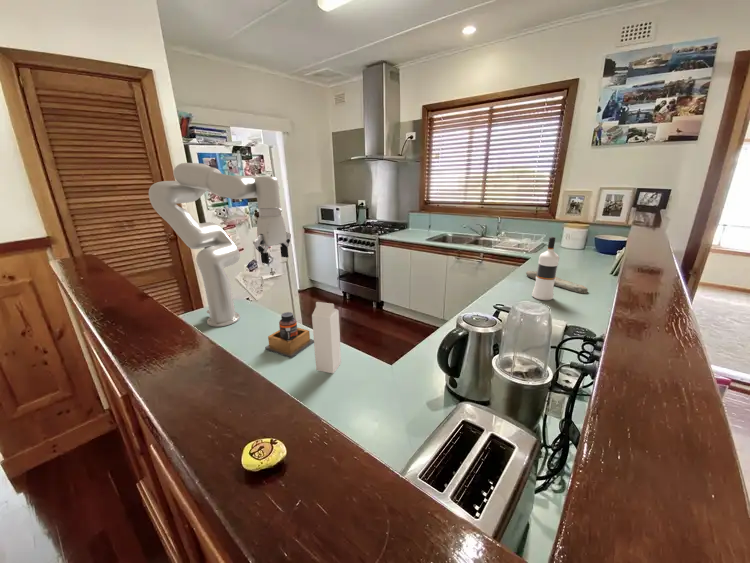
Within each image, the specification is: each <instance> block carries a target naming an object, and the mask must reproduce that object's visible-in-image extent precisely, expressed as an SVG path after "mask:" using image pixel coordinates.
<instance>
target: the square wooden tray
mask: <svg viewBox="0 0 750 563" xmlns="http://www.w3.org/2000/svg"><path fill="white" fill-rule="evenodd" d="M297 332H298V336H297V337H295V338H294V339H292V340H291V341H287V340H284V339H281V336H280V329H279V330H277V331H276V332H273V333H272V334H270V335H268V336H267V339H268V345H266V346H265V351H269V352H270V353H274V354H277V355H279V356H283V357H284V358H288V359H293V358H294V357H296V356H297V355H299V354H300V353H301V352H303V351H304V350H306V349H307V348H308V347H310V346H311V345H314V339H312V338H311V337H310V336H311V335H310V330H309V329H305V328H300V327H297Z"/></svg>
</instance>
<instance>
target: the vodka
mask: <svg viewBox="0 0 750 563" xmlns="http://www.w3.org/2000/svg"><path fill="white" fill-rule="evenodd" d="M548 238H549V239H548V245H547V250H545V251H543V252H542V253H540V255H539V257H538V262H537V263H538V264H537V265H538V266H537V270H536V271H537V277H536V280H535V283H534V287H533V290H532V293H531V295H532V297H533V298H534V299H536V300H539V301H551V300H552V299H553V298H554V289H555V288H554V287H555V285H554V282H555V277H557V272H558V271H557V270H558V265H559V261H560V256H559V255H558V253H556V252H555V251H554V249H555V243H556V237H555V236H554V237H553V236H550V237H548Z"/></svg>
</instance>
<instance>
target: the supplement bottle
mask: <svg viewBox="0 0 750 563" xmlns="http://www.w3.org/2000/svg"><path fill="white" fill-rule="evenodd" d="M280 316H281V319H280V320H279V322H278V323H279V324H278V325H279V326H278V327H279V330H280V336H281V339H284V340H287V341H291V340H292V339H294V338H295V337H297V336H298V332H297V328H298V325H297V324H298V323H297V319H296V318H295V317H294V314H293V312H291V311H287V312H283V313H281V315H280Z"/></svg>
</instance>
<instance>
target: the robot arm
mask: <svg viewBox="0 0 750 563" xmlns="http://www.w3.org/2000/svg"><path fill="white" fill-rule="evenodd" d="M173 177H174V179H175V180H163V181H158V182H155V183H153V184H151V186H150V187H149V189H148V198H149V202H150V204H151V206H152V209H154V210H155V212H156V213H157V214H158V215H159V216H160V217H161V218H162V219H163V220H164V221H165V222H167V224H168V225H169V226H170V228H172V230H173V231H174V232H175V234H176V235H177V236H178V237H179V238H180V239H181V241H182V242H183V243H184V244H185V245H186V247H188V248H190V249H192V250H199V249H201V250H200V251H199V252H198V253H197V255H196V258H195V259H196V263H197V266H198V270H199V271H200V274H201V277H202V281H203V286H204V290H205V296H206V301H207V305H208V310H206V313H207V314H209V318H208V319H207V320H206V323H207V325H209V326H210V327H214V328H215V327H216V328H217V327H218V328H219V327H225V326H230V325H233V324H235V323H237V322H238V321H239V320H240V318H241V314H240V313H239V312H236V310H235V303H234V297H233V290H232V285H231V279H230V277H229V275H228V274H227V272H226V271H225V270H224V269H225V268H228V267H231V266H233V265H235V264H237V263H238V262H239V261H240V259H241V252H240V249H239V248H238V247H237V245H236V244H235V242H233V240H232V239H231V238H230V236H229V235H228V234H227V233H226V232H225V230H224V229H223V228H222V227H221V226H220V225H218V224H217V223H216V222H215V223H214V222H212V221H211V222H210V221H209V222H202V223H200V222H198V221H197V220H196V219H195V218H194V217H193V215H192V214H191V213H190V212H189V211H187V209H184V208H183V207H181V206H180V205H178V204H187V203H194V202H196V201H197V200H199V199H201V197H202V196H203V195H204V194H206V192H211V193H212V194H213V195H216V196H218V197H223V198H226V199H233V200H245V199H256V201H257V207H258V208H257V209H258V210H257V211H258V217H257V220H256V234H257V237H256V238H255V239H254V240H253V241H252V244H253V245H254V248H255V250H256V251H258V253H260V259H261V263H262V264H267V265H268V264H269V263H270V257H269V252H268V249H269V247H274V246H277V245H280V248H279V250H280V257H282V258H289V246H290V242H291V236H292V234H291V233H289V232H287V230H286V226H285V221H284V220H285V219H284V217H283V216H282V213H283V212H282V211H283V209H282V207H281V206H282V205H281V199H280V197H281V196H280V187H279V180H278V177H276V176H273V175H270V176H269V175H266V176H261V175H259V176H258V175H257V176H256V175H231V174H230V175H229V174H226V173H225V174H224V173H222V172H221V171H220V169H218V168H216V167H211V166H210V165H208V164H206V163H201V162H200V163H198V162H197V163H196V162H182V163H179V164H177V165H175V167H174V169H173Z"/></svg>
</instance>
